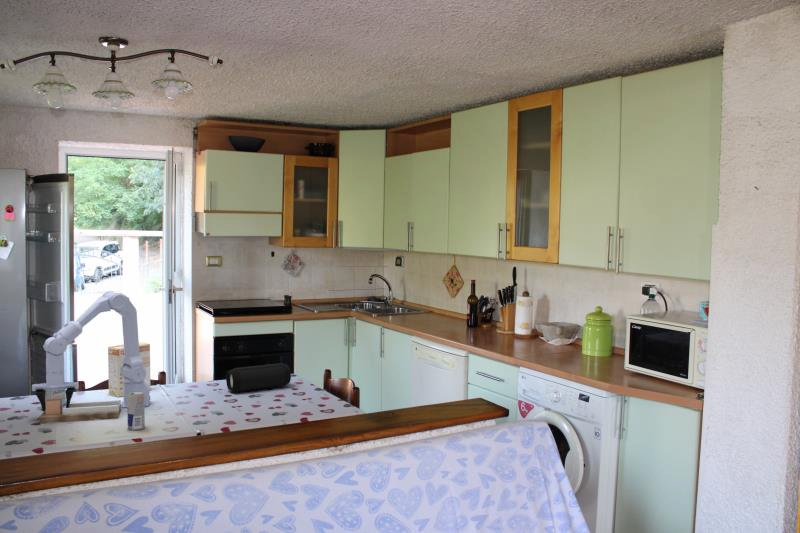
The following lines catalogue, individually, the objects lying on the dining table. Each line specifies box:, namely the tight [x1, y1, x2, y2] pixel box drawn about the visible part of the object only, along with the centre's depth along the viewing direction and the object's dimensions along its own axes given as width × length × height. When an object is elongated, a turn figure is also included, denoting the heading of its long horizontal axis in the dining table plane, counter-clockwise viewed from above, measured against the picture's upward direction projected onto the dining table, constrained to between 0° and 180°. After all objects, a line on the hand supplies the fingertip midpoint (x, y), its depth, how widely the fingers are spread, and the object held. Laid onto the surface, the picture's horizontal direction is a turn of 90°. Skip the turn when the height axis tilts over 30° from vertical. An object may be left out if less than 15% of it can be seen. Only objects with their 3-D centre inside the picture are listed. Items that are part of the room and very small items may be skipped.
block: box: [46, 398, 63, 415], centre depth 242 cm, size 4×4×4 cm
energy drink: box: [127, 391, 146, 431], centre depth 231 cm, size 5×5×12 cm
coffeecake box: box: [107, 341, 151, 398], centre depth 280 cm, size 15×7×20 cm, turn 144°
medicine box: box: [40, 389, 67, 409], centre depth 255 cm, size 8×4×9 cm, turn 168°
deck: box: [38, 403, 122, 424], centre depth 245 cm, size 25×12×2 cm, turn 107°
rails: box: [62, 399, 121, 415], centre depth 246 cm, size 18×8×2 cm, turn 107°
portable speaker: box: [225, 363, 292, 393], centre depth 289 cm, size 26×10×10 cm, turn 124°
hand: (55, 409), depth 242 cm, fingers open, 7 cm apart
